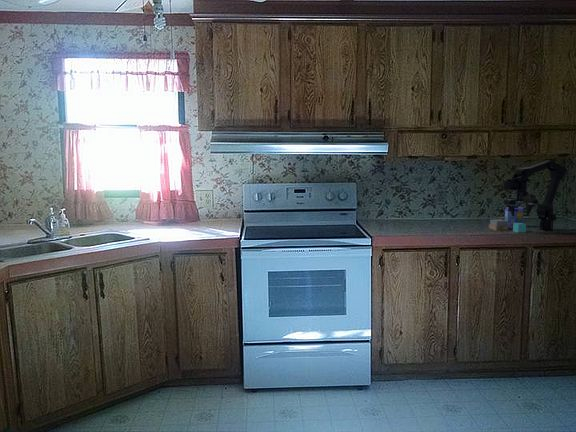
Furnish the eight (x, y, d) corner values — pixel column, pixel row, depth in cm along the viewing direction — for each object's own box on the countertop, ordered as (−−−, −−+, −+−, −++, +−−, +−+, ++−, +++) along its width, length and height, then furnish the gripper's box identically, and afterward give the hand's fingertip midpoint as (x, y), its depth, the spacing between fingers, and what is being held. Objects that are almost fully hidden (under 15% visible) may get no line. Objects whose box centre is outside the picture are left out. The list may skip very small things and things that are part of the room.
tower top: (500, 223, 308) (500, 219, 308) (507, 225, 301) (507, 220, 301) (490, 224, 307) (490, 219, 306) (496, 226, 300) (496, 221, 300)
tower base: (500, 228, 309) (500, 223, 308) (508, 230, 301) (508, 225, 300) (488, 229, 308) (488, 224, 307) (495, 231, 300) (496, 226, 299)
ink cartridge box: (507, 227, 310) (508, 204, 308) (503, 225, 315) (505, 203, 313) (523, 227, 309) (524, 204, 307) (519, 225, 314) (521, 203, 312)
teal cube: (520, 231, 297) (521, 222, 297) (525, 232, 292) (526, 224, 292) (513, 231, 297) (513, 223, 296) (517, 232, 292) (518, 224, 291)
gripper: (515, 191, 282) (513, 218, 284) (545, 190, 284) (543, 217, 286) (503, 189, 293) (502, 215, 295) (533, 188, 295) (531, 214, 297)
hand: (520, 216), depth 293 cm, fingers open, 9 cm apart
